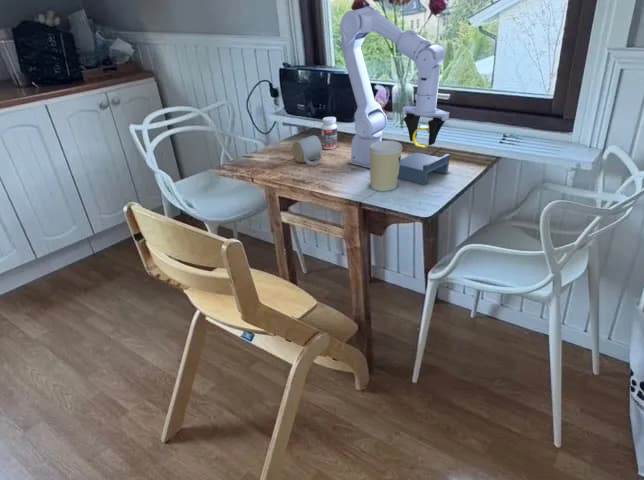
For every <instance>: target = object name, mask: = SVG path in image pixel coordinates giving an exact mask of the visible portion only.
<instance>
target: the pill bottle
mask: <svg viewBox="0 0 644 480" xmlns="http://www.w3.org/2000/svg"><path fill="white" fill-rule="evenodd" d="M336 122H337V117H335V116H325V117H323V118H322V124H321V125H320V130H321V132H320V143H321V146H322V149H324V150H332V149H335V148H337V146H338V125H337V124H336Z"/></svg>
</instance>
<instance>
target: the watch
mask: <svg viewBox="0 0 644 480" xmlns="http://www.w3.org/2000/svg"><path fill="white" fill-rule="evenodd" d="M418 131H426V132H427V133H428V134H429V125H428V124H426V125H425V124H424V125H422V124H421V125H420V126H418V128H417V130H416V131H415V132H414V133H413V137H412V139H413V141H412V143H413V144H414V146H415V147H418V148H423V149H426V148H428V147H430V145H429V143H427V145H425V144H421V143H418V141H417V137H415V136H416V132H417V133H418Z"/></svg>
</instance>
